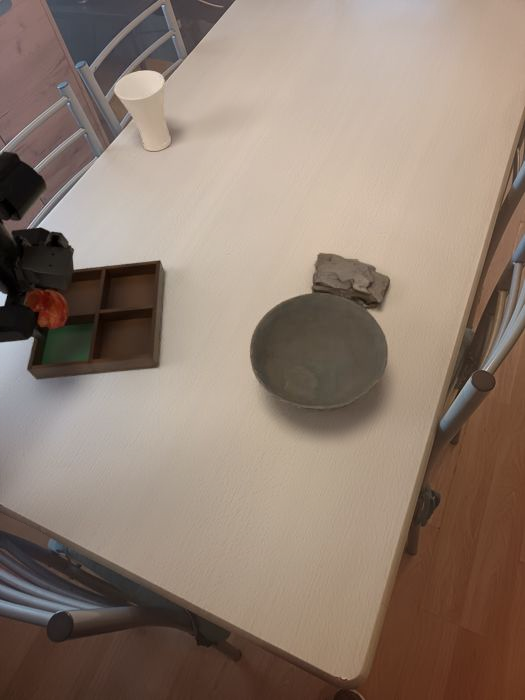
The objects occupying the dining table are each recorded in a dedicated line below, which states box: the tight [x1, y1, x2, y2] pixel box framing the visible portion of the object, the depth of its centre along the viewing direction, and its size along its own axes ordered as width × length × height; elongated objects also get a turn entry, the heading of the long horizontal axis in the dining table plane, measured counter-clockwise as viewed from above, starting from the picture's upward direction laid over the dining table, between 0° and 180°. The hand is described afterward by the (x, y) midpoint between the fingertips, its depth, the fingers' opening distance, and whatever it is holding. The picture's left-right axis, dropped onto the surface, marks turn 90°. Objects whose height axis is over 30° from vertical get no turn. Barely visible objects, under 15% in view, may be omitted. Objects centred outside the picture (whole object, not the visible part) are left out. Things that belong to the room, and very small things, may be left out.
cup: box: [113, 69, 172, 152], centre depth 107 cm, size 10×10×14 cm
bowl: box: [249, 292, 389, 412], centre depth 73 cm, size 19×19×10 cm
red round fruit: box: [25, 287, 69, 343], centre depth 75 cm, size 7×7×10 cm
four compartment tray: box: [26, 259, 166, 380], centre depth 86 cm, size 20×20×3 cm
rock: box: [311, 252, 391, 309], centre depth 85 cm, size 14×9×4 cm
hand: (47, 317), depth 77 cm, fingers closed on red round fruit, 7 cm apart
